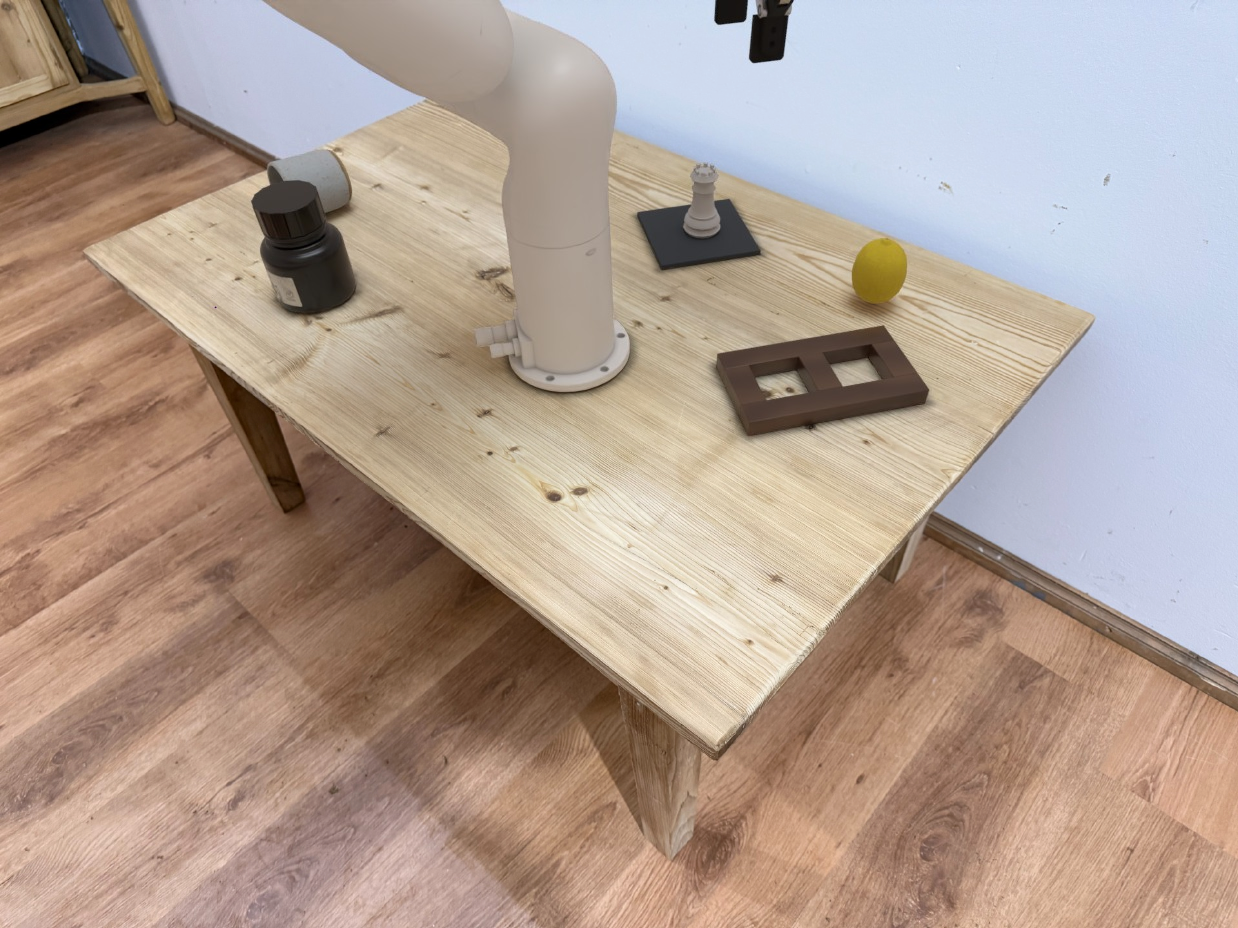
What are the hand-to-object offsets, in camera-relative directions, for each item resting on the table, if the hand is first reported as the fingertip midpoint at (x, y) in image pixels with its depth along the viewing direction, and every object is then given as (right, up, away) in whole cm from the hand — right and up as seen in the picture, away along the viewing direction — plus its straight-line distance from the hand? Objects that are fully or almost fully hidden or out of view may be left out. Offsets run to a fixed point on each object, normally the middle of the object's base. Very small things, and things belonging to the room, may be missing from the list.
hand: (747, 41), depth 81 cm
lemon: (+15, -23, +12) cm, 30 cm away
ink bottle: (-47, -21, +17) cm, 54 cm away
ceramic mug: (-52, -7, +29) cm, 60 cm away
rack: (+7, -32, +3) cm, 33 cm away
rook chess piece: (-2, -12, +22) cm, 25 cm away
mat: (-3, -12, +22) cm, 26 cm away
